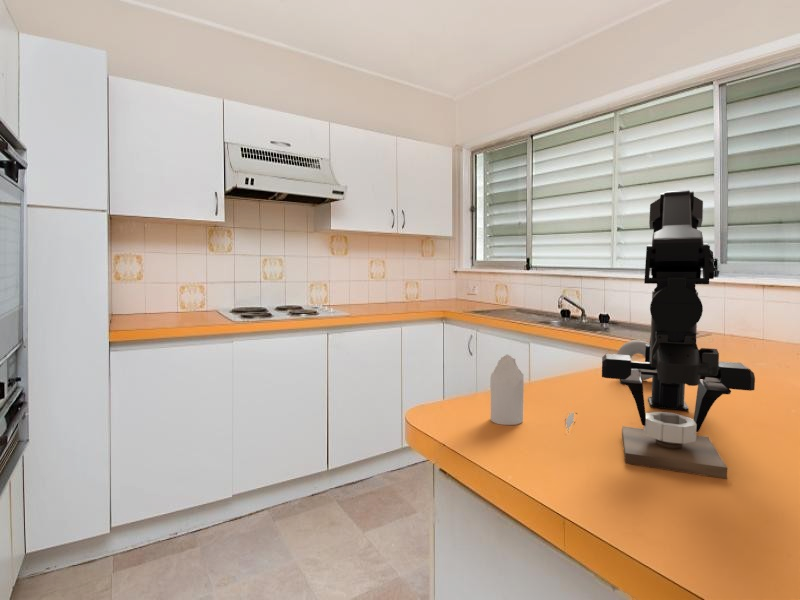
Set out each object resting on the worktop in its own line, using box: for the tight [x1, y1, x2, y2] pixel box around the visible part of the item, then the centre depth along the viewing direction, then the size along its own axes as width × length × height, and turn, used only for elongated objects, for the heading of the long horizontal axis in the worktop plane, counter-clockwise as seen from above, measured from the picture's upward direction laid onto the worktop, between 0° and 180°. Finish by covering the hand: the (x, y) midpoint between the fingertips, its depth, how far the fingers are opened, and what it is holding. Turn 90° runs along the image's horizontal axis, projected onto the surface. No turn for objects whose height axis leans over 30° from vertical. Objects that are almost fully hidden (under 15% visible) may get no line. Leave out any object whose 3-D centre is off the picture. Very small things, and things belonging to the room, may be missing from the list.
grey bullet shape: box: [489, 354, 525, 426], centre depth 83 cm, size 6×12×6 cm
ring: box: [643, 411, 697, 444], centre depth 68 cm, size 6×6×2 cm
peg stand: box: [621, 411, 728, 480], centre depth 68 cm, size 12×12×6 cm
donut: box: [616, 339, 652, 381], centre depth 113 cm, size 10×3×10 cm, turn 57°
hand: (669, 428), depth 68 cm, fingers closed on ring, 6 cm apart
